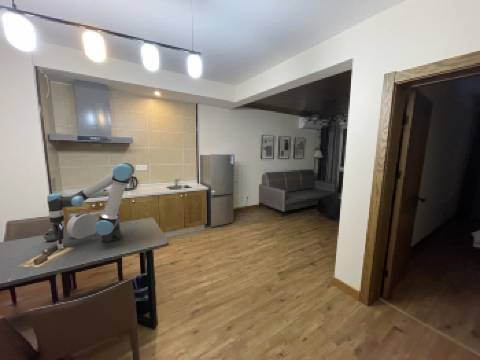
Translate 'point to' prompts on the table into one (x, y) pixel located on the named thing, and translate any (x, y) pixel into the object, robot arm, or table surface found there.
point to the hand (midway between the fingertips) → (60, 247)
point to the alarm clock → (81, 225)
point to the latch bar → (50, 250)
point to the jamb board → (55, 254)
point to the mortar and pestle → (50, 236)
